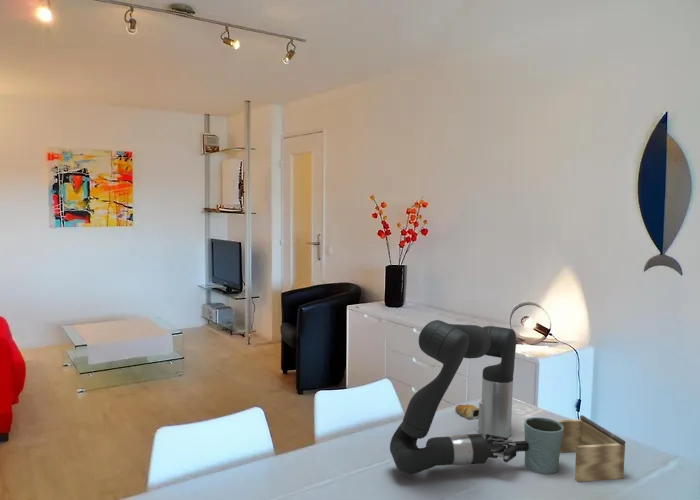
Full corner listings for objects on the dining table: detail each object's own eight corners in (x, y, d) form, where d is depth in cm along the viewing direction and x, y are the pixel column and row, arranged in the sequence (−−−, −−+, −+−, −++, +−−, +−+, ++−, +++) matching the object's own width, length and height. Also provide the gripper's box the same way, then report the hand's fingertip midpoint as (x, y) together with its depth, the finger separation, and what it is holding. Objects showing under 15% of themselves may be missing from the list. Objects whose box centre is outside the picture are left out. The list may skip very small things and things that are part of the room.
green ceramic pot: (534, 455, 160) (536, 414, 159) (568, 468, 153) (570, 424, 152) (515, 466, 153) (517, 422, 152) (550, 479, 146) (552, 434, 145)
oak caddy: (577, 481, 145) (579, 443, 144) (540, 451, 163) (541, 417, 162) (623, 478, 147) (625, 440, 147) (581, 449, 165) (583, 415, 165)
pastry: (450, 412, 194) (450, 401, 194) (464, 409, 198) (465, 398, 198) (470, 421, 186) (470, 410, 186) (484, 417, 190) (485, 406, 190)
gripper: (476, 445, 142) (540, 442, 145) (457, 426, 155) (516, 422, 158) (475, 474, 142) (539, 470, 146) (456, 452, 155) (515, 449, 159)
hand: (526, 445), depth 152 cm, fingers closed
